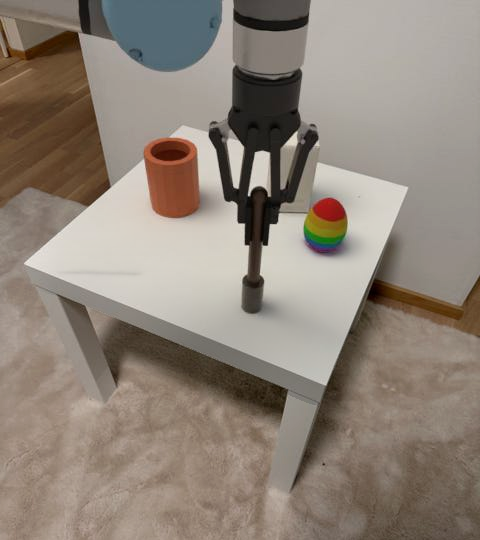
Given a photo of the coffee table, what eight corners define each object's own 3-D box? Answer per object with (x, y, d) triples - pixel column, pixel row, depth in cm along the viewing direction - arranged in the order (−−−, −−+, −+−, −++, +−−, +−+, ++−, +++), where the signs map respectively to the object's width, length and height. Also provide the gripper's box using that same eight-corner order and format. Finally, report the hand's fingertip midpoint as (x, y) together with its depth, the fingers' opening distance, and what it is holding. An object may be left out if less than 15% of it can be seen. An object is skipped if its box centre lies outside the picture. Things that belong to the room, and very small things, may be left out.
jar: (148, 217, 91) (139, 163, 82) (154, 188, 98) (147, 136, 88) (197, 218, 91) (194, 165, 82) (201, 190, 98) (198, 138, 89)
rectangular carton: (309, 213, 93) (321, 146, 82) (266, 212, 93) (272, 145, 82) (306, 189, 99) (316, 123, 87) (266, 187, 99) (271, 121, 87)
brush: (241, 313, 75) (245, 195, 57) (241, 297, 77) (245, 179, 59) (262, 313, 75) (273, 195, 57) (261, 298, 77) (272, 180, 59)
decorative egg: (294, 247, 86) (300, 203, 78) (311, 225, 91) (319, 182, 83) (332, 262, 83) (343, 219, 76) (349, 239, 88) (360, 196, 80)
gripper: (333, 54, 49) (304, 225, 67) (199, 50, 49) (206, 222, 67) (343, 82, 44) (309, 258, 62) (194, 78, 44) (203, 255, 62)
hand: (256, 239), depth 65 cm, fingers closed on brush, 2 cm apart
